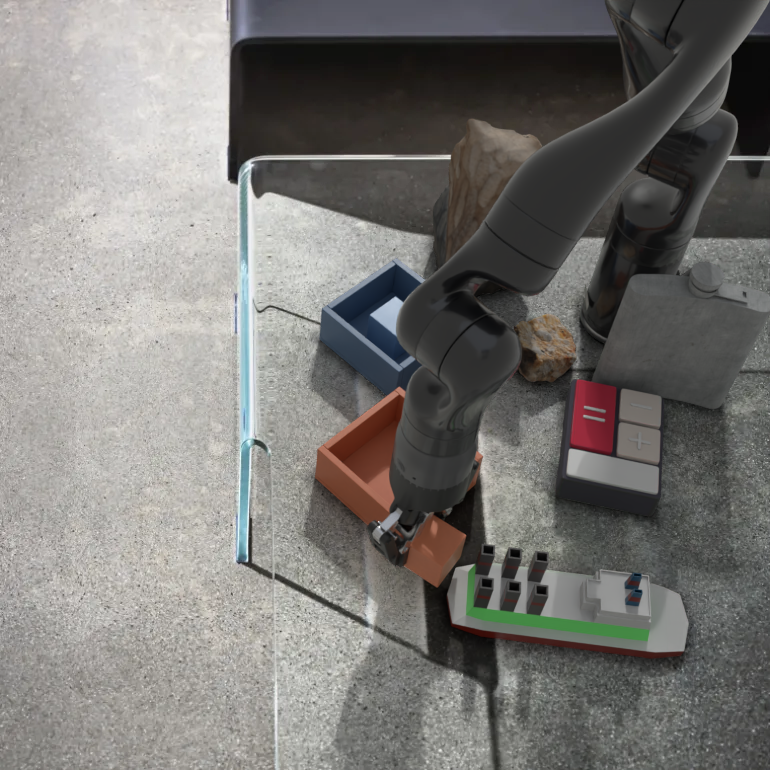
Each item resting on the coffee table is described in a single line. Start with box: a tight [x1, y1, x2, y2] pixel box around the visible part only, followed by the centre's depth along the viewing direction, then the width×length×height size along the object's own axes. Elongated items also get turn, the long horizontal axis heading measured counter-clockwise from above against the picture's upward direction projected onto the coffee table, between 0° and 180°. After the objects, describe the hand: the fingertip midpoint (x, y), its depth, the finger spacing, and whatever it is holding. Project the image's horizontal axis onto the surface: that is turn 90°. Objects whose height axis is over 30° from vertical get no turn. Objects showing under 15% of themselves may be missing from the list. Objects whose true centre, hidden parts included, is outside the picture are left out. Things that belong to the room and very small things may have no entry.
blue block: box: [367, 297, 405, 360], centre depth 137 cm, size 4×4×4 cm
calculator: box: [554, 378, 665, 517], centre depth 131 cm, size 11×4×15 cm
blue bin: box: [318, 257, 426, 396], centre depth 137 cm, size 13×13×6 cm
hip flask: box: [591, 260, 770, 410], centre depth 131 cm, size 16×4×20 cm, turn 84°
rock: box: [513, 313, 578, 383], centre depth 139 cm, size 9×6×10 cm
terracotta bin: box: [314, 387, 484, 539], centre depth 125 cm, size 13×13×6 cm
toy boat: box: [445, 543, 690, 660], centre depth 116 cm, size 8×25×8 cm, turn 85°
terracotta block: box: [403, 515, 467, 588], centre depth 118 cm, size 4×4×4 cm
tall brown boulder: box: [432, 118, 544, 297], centre depth 141 cm, size 13×13×20 cm
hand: (413, 544), depth 120 cm, fingers closed on terracotta block, 4 cm apart
